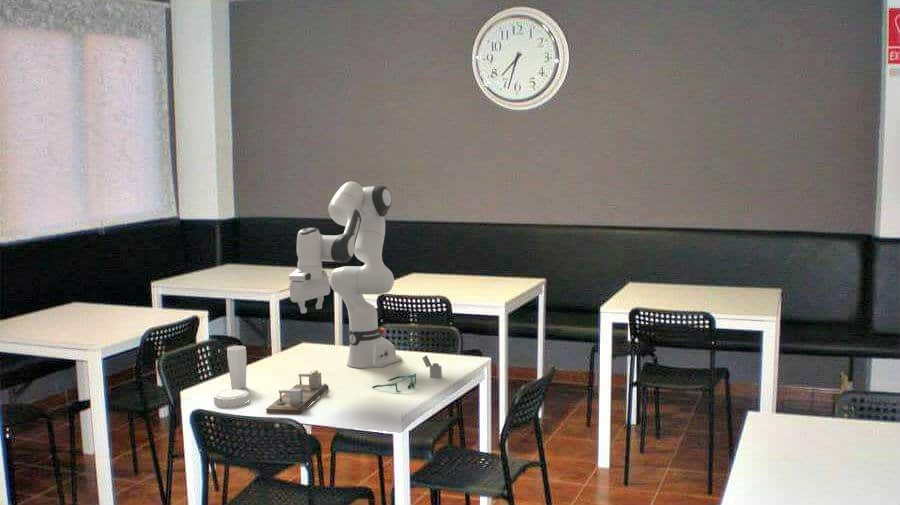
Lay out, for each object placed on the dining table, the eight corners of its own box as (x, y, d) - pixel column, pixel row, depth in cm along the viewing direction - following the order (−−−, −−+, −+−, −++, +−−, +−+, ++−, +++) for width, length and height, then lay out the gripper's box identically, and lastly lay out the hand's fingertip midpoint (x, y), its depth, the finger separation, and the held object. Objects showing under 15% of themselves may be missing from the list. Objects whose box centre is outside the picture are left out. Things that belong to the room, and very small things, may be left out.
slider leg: (301, 385, 357) (300, 369, 356) (321, 386, 355) (320, 370, 354) (298, 387, 354) (297, 372, 353) (319, 388, 352) (318, 372, 351)
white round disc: (208, 402, 346) (207, 392, 345) (240, 395, 353) (239, 386, 353) (223, 410, 336) (222, 399, 336) (255, 403, 344) (254, 393, 343)
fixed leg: (302, 385, 358) (301, 371, 357) (326, 385, 356) (326, 372, 356) (274, 408, 331) (273, 393, 330) (300, 408, 329) (299, 394, 328)
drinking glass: (251, 385, 365) (249, 346, 363) (242, 390, 359) (239, 350, 357) (235, 384, 367) (233, 345, 365) (225, 389, 361) (223, 349, 359)
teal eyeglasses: (402, 394, 349) (401, 380, 348) (368, 393, 357) (367, 379, 356) (424, 384, 361) (422, 371, 360) (391, 383, 369) (389, 370, 368)
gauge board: (296, 388, 360) (296, 384, 359) (328, 389, 357) (328, 384, 357) (266, 413, 331) (266, 408, 330) (300, 414, 328) (300, 409, 328)
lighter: (441, 377, 369) (441, 356, 368) (440, 378, 368) (439, 357, 367) (424, 375, 372) (423, 354, 371) (422, 376, 370) (421, 356, 369)
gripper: (319, 268, 369) (320, 305, 370) (286, 276, 351) (287, 315, 352) (333, 269, 366) (334, 306, 367) (300, 277, 348) (302, 316, 349)
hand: (311, 310), depth 360 cm, fingers open, 8 cm apart
